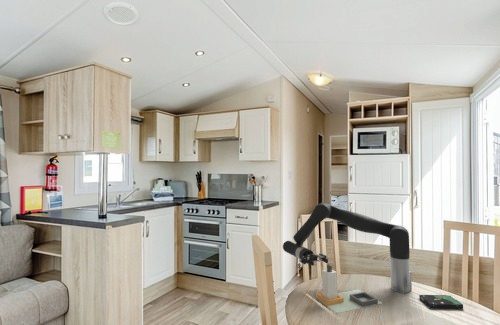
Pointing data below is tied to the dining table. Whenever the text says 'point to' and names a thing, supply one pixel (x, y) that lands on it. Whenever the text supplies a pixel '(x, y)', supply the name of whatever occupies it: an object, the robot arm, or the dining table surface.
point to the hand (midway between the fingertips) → (320, 262)
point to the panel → (349, 301)
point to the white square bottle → (329, 283)
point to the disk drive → (440, 302)
